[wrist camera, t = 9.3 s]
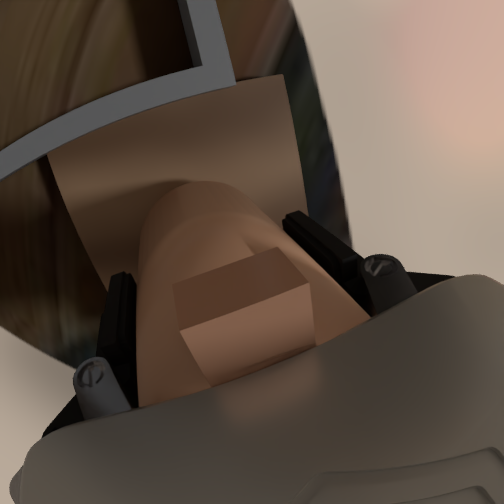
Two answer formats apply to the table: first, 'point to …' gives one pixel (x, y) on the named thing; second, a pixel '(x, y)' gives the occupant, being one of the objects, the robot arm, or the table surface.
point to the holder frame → (137, 91)
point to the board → (178, 165)
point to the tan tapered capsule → (225, 293)
